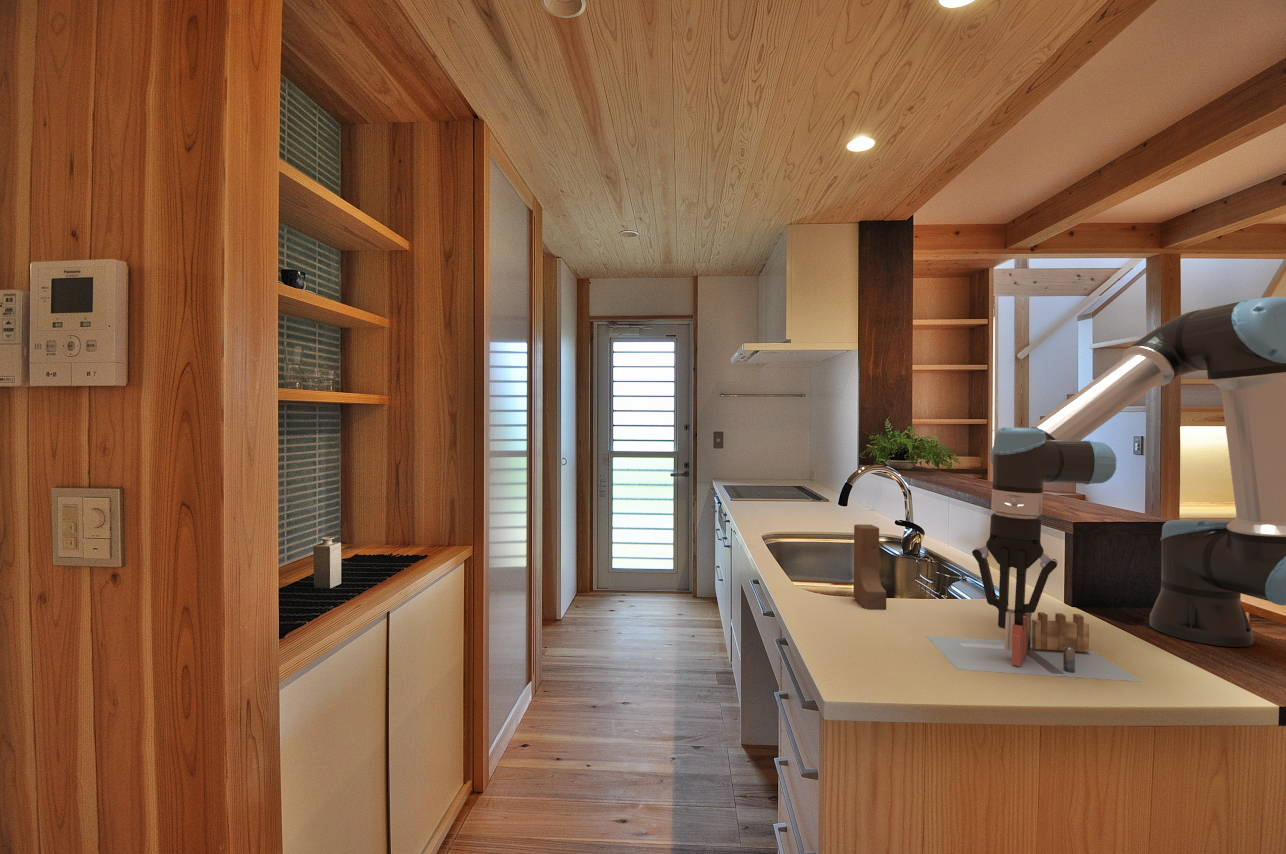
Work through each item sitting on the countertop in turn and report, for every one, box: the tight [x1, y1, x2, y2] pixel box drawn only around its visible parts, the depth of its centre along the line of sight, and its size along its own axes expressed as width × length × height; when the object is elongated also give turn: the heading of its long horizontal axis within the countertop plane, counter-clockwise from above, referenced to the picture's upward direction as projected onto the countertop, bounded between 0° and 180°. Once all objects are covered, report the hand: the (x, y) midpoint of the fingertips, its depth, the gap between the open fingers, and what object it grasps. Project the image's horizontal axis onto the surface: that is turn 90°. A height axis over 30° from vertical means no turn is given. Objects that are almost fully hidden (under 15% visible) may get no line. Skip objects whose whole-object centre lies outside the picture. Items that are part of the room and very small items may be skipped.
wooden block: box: [852, 523, 887, 611], centre depth 135 cm, size 9×4×18 cm, turn 179°
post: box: [1024, 613, 1032, 651], centre depth 108 cm, size 2×2×8 cm
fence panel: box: [1012, 616, 1028, 666], centre depth 103 cm, size 10×1×6 cm, turn 140°
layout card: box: [925, 635, 1143, 683], centre depth 104 cm, size 28×16×1 cm, turn 82°
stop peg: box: [1063, 645, 1075, 673], centre depth 98 cm, size 2×2×4 cm
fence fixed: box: [1031, 611, 1090, 652], centre depth 107 cm, size 9×1×6 cm, turn 82°
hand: (1009, 647), depth 103 cm, fingers closed
